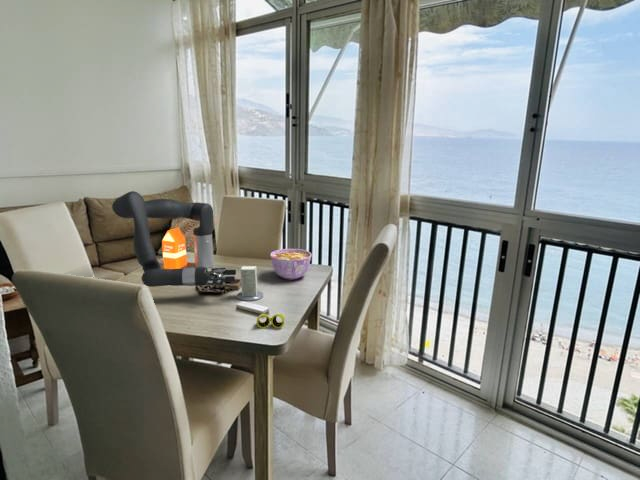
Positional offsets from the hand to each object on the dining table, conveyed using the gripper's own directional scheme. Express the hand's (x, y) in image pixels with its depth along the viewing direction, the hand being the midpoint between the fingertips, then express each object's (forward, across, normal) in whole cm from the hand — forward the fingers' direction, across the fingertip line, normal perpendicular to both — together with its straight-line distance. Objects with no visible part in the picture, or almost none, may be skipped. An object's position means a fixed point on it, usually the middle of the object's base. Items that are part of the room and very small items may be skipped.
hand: (235, 275), depth 165 cm
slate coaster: (+6, 0, +9) cm, 11 cm away
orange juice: (-33, +44, +10) cm, 56 cm away
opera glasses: (+14, -28, +10) cm, 33 cm away
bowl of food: (+25, +23, +10) cm, 35 cm away
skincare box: (+6, 0, +9) cm, 11 cm away
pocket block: (-3, +13, +9) cm, 17 cm away
